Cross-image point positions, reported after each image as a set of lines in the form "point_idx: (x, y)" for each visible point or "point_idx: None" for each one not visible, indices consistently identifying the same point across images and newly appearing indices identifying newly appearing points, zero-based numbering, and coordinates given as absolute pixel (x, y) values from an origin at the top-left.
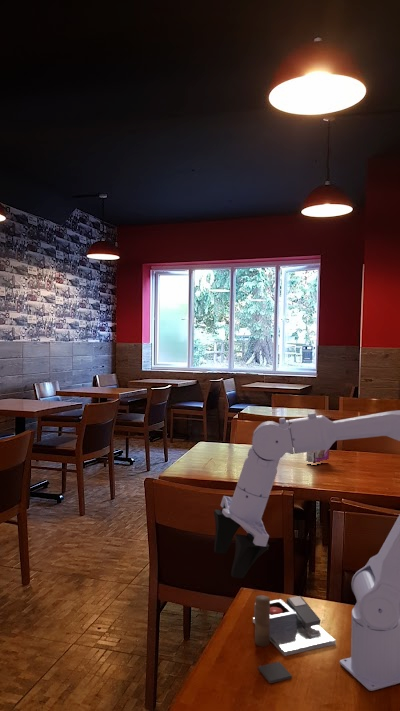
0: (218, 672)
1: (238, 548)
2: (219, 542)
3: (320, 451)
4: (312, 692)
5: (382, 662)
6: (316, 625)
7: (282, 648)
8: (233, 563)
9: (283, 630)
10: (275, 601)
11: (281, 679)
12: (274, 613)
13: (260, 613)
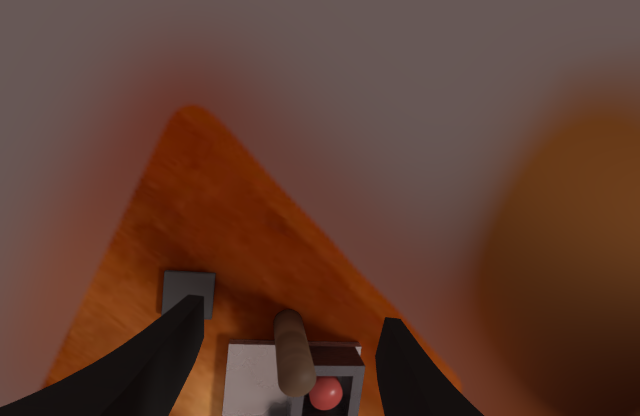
0: (240, 199)
1: (65, 395)
2: (397, 361)
3: None
4: (109, 327)
5: None
6: None
7: (239, 345)
8: (171, 324)
9: None
10: (352, 413)
11: (163, 295)
12: (316, 387)
13: (282, 349)
